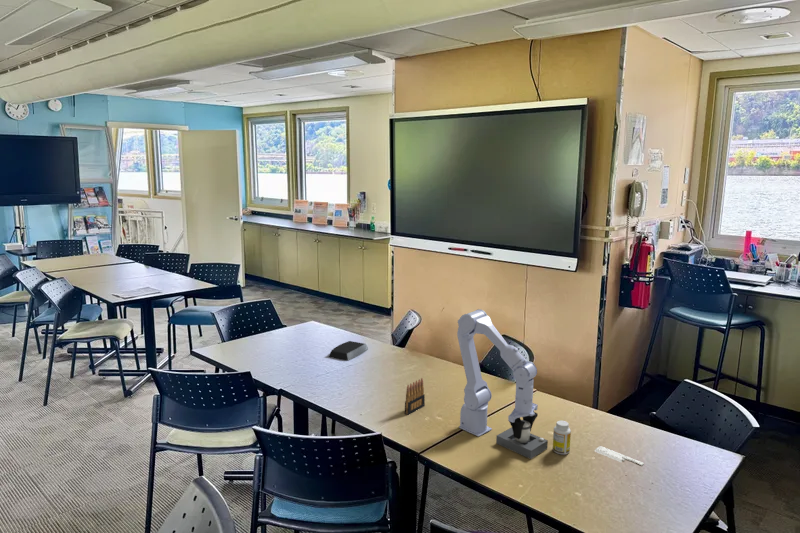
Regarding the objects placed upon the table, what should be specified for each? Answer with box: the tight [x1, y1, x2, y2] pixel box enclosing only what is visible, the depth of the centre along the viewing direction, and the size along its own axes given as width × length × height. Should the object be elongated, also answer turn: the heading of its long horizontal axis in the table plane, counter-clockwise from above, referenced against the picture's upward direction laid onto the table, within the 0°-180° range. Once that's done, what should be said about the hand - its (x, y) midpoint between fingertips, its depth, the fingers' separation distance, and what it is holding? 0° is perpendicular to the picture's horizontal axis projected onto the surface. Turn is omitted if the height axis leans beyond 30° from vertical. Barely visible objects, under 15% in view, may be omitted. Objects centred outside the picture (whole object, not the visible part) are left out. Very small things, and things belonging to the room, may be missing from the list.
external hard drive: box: [328, 340, 369, 362], centre depth 279 cm, size 13×19×4 cm
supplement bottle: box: [552, 420, 572, 455], centre depth 184 cm, size 6×6×10 cm
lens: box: [514, 419, 531, 443], centre depth 187 cm, size 5×5×6 cm
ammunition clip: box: [404, 377, 426, 416], centre depth 214 cm, size 11×2×12 cm, turn 141°
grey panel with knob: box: [495, 426, 549, 460], centre depth 188 cm, size 14×10×4 cm
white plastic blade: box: [593, 445, 645, 467], centre depth 181 cm, size 5×15×1 cm, turn 42°
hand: (522, 435), depth 187 cm, fingers closed on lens, 5 cm apart
